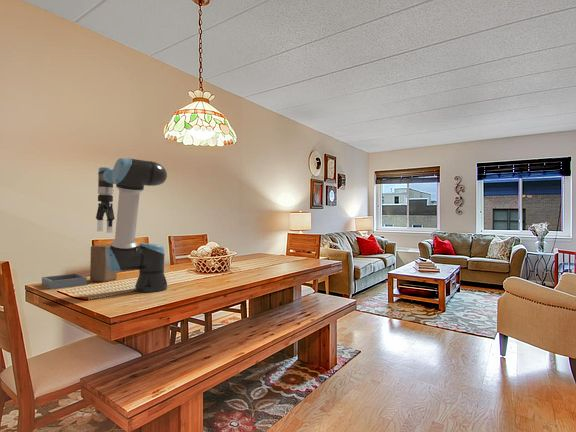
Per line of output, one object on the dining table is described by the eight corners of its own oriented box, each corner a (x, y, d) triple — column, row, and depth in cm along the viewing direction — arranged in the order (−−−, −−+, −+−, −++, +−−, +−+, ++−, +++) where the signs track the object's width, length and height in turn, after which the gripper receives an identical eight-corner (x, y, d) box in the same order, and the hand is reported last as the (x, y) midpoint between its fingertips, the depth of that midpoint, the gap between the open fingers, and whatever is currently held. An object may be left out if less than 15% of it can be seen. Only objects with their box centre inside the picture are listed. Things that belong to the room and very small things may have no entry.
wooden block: (104, 282, 181) (105, 246, 181) (89, 281, 183) (90, 245, 183) (117, 279, 191) (118, 244, 191) (102, 278, 193) (103, 244, 193)
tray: (86, 284, 174) (86, 277, 174) (50, 289, 162) (50, 281, 162) (76, 280, 185) (76, 273, 185) (41, 284, 172) (41, 277, 172)
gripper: (121, 194, 182) (120, 232, 182) (103, 195, 198) (103, 230, 198) (107, 193, 176) (106, 233, 176) (90, 194, 193) (89, 230, 193)
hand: (104, 231), depth 187 cm, fingers open, 13 cm apart
